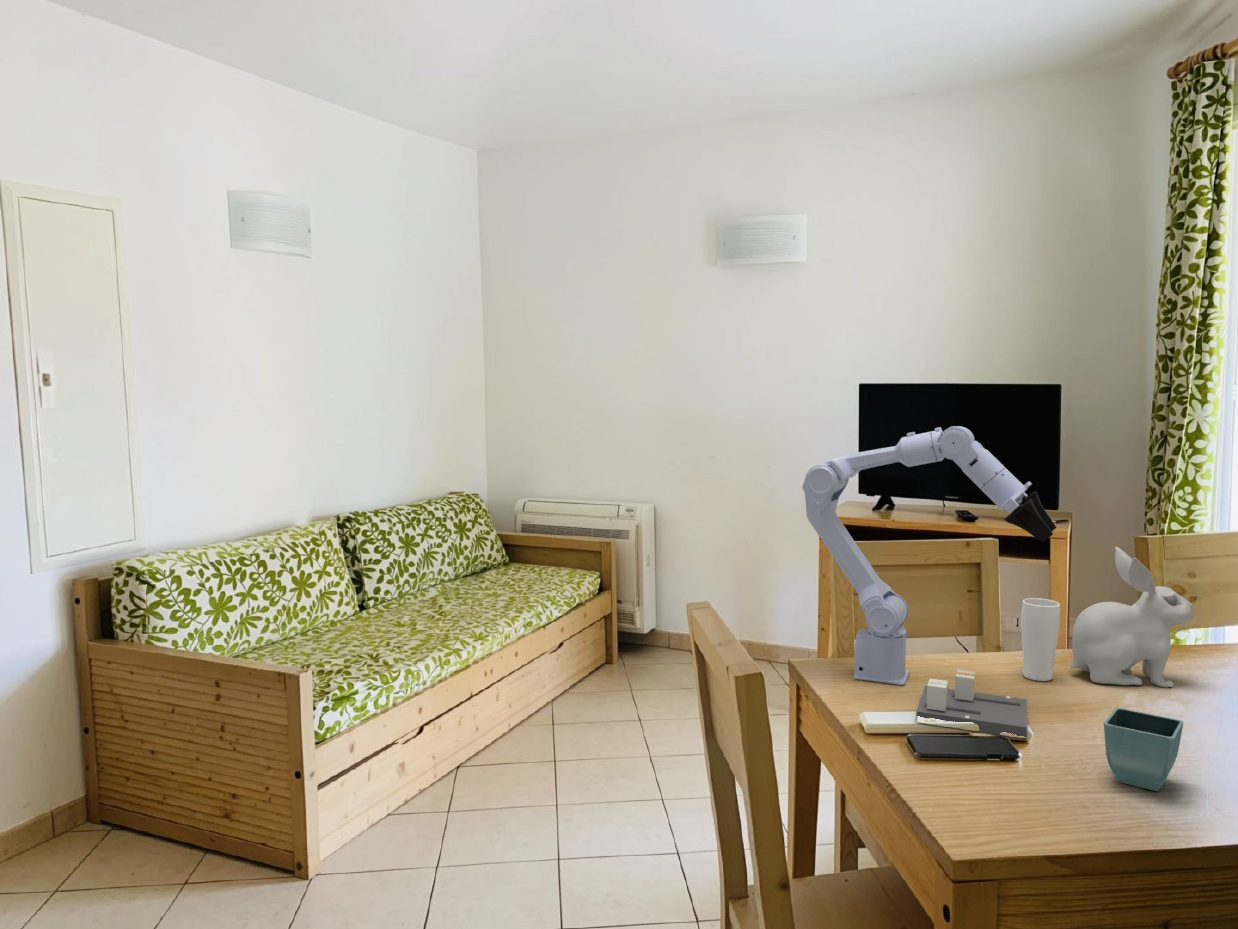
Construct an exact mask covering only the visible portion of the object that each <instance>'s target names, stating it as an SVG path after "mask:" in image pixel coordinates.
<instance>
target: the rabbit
mask: <svg viewBox="0 0 1238 929" xmlns="http://www.w3.org/2000/svg"><path fill="white" fill-rule="evenodd" d="M1114 548H1115V550H1114V552H1115V554H1114V555H1115V556H1114V561H1115V568H1116V570H1117V573H1118V575H1119V577H1120V578H1121V580H1123V582H1125V583H1126V584H1127V585H1129V586H1131V587H1133V588H1134V589H1135V590H1136V591H1137V592H1142V594H1141V596H1140V597H1139V599H1138V600H1137V601H1136V602H1135V603H1133V604H1132V605H1128V604H1125V603H1121V602H1117V601H1103V602H1097V603H1095V604H1091V605H1090V606H1088V607H1087V608H1085V609H1084V610H1081V612H1080V613H1079V614H1078V616H1077V617H1076V619H1075V622H1074V625H1073V629H1072V634H1071V635H1072V636H1071V642H1072V644H1071V645H1072V655H1073V656H1072V659H1071V663H1070V669H1082V671H1085V672H1088V673H1089V678H1090V680H1091V681H1092V682H1093V683H1096V684H1104V685H1105V684H1106V685H1108V684H1109V685H1118V686H1119V685H1120V686H1130V685H1131V686H1132V685H1133V686H1134V685H1135V686H1141V685H1143V680H1142V679H1141V678H1139V677H1138V676H1135V675H1132V673H1133V672H1132V670H1131V668H1133V667H1134V666H1135V665H1137V664H1138V663H1141V662H1142V667H1141V668H1142V670H1141V672H1142V673H1143V674H1144V675H1145V677H1147V678H1150V681H1151V683H1153V684H1154V685H1156V686H1157V687H1161V688H1168V687H1172V688H1173V687H1174V686H1175V684H1174V682H1173V681H1171V680H1165V679H1164V678H1165V676H1164V670H1165V668H1166V666H1167V662H1168V659H1169V657H1170V654H1171V644H1172V643H1171V637H1172V636H1171V631H1170V630H1171V628H1172V626H1174V625H1175V626H1176V625H1183V624H1184V623H1186V622H1189V621H1191V620H1192V619H1193V618H1194V611H1193V607H1194V605H1193V604H1192V603H1191V602H1190V601H1189V600H1188V599H1186V598H1185V597H1183V596H1182V595H1180V594H1178V593H1177V592H1176V591H1175V590H1173V589H1172V588H1170V587H1168V586H1161V585H1160V586H1159V585H1157V586H1156V585H1155V581H1154V580H1155V579H1154V577H1153V575H1152V573H1151V571H1150V570H1149V569H1148V568H1147V567H1146V566H1145V565H1143V563H1142V562H1141V561H1140V559H1138V558H1136V557H1133V558H1131V556H1129V555H1128V554H1127V553H1126V551H1124V550H1122V549H1121V548H1120V547H1118V546H1115V547H1114Z"/></svg>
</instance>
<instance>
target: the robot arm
mask: <svg viewBox="0 0 1238 929" xmlns="http://www.w3.org/2000/svg"><path fill="white" fill-rule="evenodd" d="M944 459H947V460H951V461H953V462H954V463H955V464H956V465H957V466H958V467H959V468H960V469H961V470H962V472H963V473H964V474H965V475H966V476H967V477H968V478H969V479H970V480H971V481H972V482H973V483H974V484H975V485H976V486H977V487H978V488H979V489H980V490H981V491H982V492H983V493H984V495H986V496H987V497H988V498H989V499H990V500H991V501H992V502H993V503H994V504H995V505H996V506H997V507H998V508H997V509H998V510H999V511H1001V512H1002V511H1003V510H1006V511H1007V513H1008V515H1007V516H1006V517H1005V518H1004V521H1005V522H1006V523H1008V524H1011V525H1013V526H1016V527H1018V528H1020V529H1022V530H1023V531H1025V532H1027V533H1028V534H1030V535H1031V536H1033V537H1034V538H1035V539H1037V540H1038V541H1041V542H1042V543H1045V542H1046V541H1047V540H1049V539H1050V537H1052V536H1053V535H1054V533H1053V531H1054V530H1056V529H1057V526H1056V524H1055V522H1054V521H1053V519H1052V518H1051V517H1050V515H1049V513H1048V512H1047V511H1046V510H1045V508H1044V506H1043V504H1042V503H1041V499H1040V497H1039V494H1038V492H1036V490H1035V491H1034V492H1032V493H1031V494H1030V495H1029V496H1028V494H1027V493H1026V491H1027V490H1028V488H1029V487H1030V486H1032V484H1033V483H1032V482H1031V481H1027V482H1026V483H1025V484H1023V483H1022V482H1021V481H1020V480H1019V479H1017V477H1015V476H1014V474H1013V473H1011V471H1009V470H1008V468H1006V467H1005V466H1004V464H1002V463H1001V461H1000V460H998V458H997V457H995V456H994V455H993V454H992V453H991V452H990V451H989V450H988V449H986V448H985V447H984V446H983V445H982V444H981V443H980V442H978V440H975V436H974V434H973V432H972V431H971V430H970V429H968V428H967V427H964V426H960V425H959V426H958V425H957V426H955V425H953V426H950V427H948V428H946V429H945V430H942V427H941V426H940V427H935V428H934V430H931V431H927V432H922V433H918V434H916V432H915V431H912V432H907V433H906V436H902V437H901V438H900V439H899V441H898V442H897V444H896V445H895V446H889V447H881V448H876V449H871V450H870V449H869V450H865V451H859V452H852V453H849V454H845V455H842V456H840V457H837V458H834V459H831V460H829V461H825V462H824V463H822V464H816V465H814V466H812V467H810V469H808V471H807V473H806V474H805V477H804V480H803V483H802V487H801V488H802V490H803V493H804V498H805V499H804V500H805V513H806V518H807V519H808V522H809V523H810V524H811V526H812V527H813V529H814V531H815V532H816V533H817V535H818V536H819V538H820V539H821V541H822V542H823V544H824V546H825V547H826V548H827V550H828V552H829V553H830V554H831V556H832V558H833V559H834V560H835V562H836V564H837V565H838V566H839V568H840V570H841V571H842V572H843V574H844V575H845V577H846V579H847V580H848V581H849V582H850V584H851V586H852V587H853V588H854V591H855V592H856V593H857V595H858V602H859V605H860V608H861V609H862V612H863V613H864V617H865V623H866V625H867V629H858V630H857V632H856V635H855V642H854V663H853V664H854V668H853V672H854V675H853V679H855V680H861V681H868V682H869V681H870V682H876V683H884V684H889V685H890V684H891V685H896V686H897V685H898V686H905V685H906V682H907V680H908V677H909V675H910V671H909V670H906V650H907V630H906V628H905V626H904V624H903V623H904V622H905V621H906V620H907V619H908V616H909V612H910V611H909V605H908V603H907V602H906V600H905V598H903V597H902V596H901V595H899V594H897V593H896V592H894V591H893V589H892V588H891V586H890V585H888V584H887V583H886V582H884V581H883V580H882V579H881V578H880V577H879V575H878V573H877V572H876V570H875V569H874V568H873V566H872V565H871V563H870V562H869V561H868V559H867V557H866V556H865V555H864V553H863V551H862V550H861V549H860V547H859V545H858V544H857V542H856V541H855V540H854V539H853V537H852V536H851V534H850V533H849V531H848V529H847V528H846V527H845V525H844V524H843V522H842V521H841V519H840V518H839V516H838V515H837V512H836V511H837V506H838V503H839V499H840V497H841V495H842V493H844V490H845V489H846V487H847V486H848V483H849V479H851V478H854V477H855V476H856V475H857V474H858V473H859V472H860V471H862V470H867V469H870V468H876V467H880V466H884V465H890V464H895V463H901V464H902V465H904V466H906V467H908V468H910V467H915V466H920V465H926V464H930V463H931V464H932V463H936V462H942V461H943V460H944Z"/></svg>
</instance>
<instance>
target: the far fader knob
mask: <svg viewBox="0 0 1238 929" xmlns="http://www.w3.org/2000/svg"><path fill="white" fill-rule="evenodd" d="M954 680H955V683H954V690H955V699H960V700H967V701H973V699H974V692H975V684H976V671H969V670H963V669H956V674H955V679H954Z"/></svg>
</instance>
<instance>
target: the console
mask: <svg viewBox="0 0 1238 929" xmlns="http://www.w3.org/2000/svg"><path fill="white" fill-rule="evenodd" d="M1027 700H1028V699H1026V698H1020V697H1011V696H1007V695H1006V696H1005V695H997V694H991V693H982V692H976V691H974V699H973V701H967V700H960V699H955V689H953V688H952V689H951V688H948V698H947V707H946V711H940V710H933V709H927V685H924V687H923V691H922V693H921V696H920V700H919V702H918V706H917V707H916V712H915V713H916V714H915V717H916V716H920V717H924V718H935V719H940V720H946V721H953V722H954V721H955V722H973V723H975V724H977V725H978V726H979V729H980V730H979V731H978V732H977V733H980V734H987V735H995V736H1000V733H1002V732H1007V733H1011V734H1012V733H1013V734H1014V735H1015V734H1016V735H1017V736H1024V737H1026V738H1027V737H1028V736H1027V734H1028V733H1027V732H1028V731H1027V730H1028V729H1027V728H1028V715H1027V714H1028V708H1027V707H1028V701H1027ZM1013 734H1012V735H1013Z"/></svg>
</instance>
